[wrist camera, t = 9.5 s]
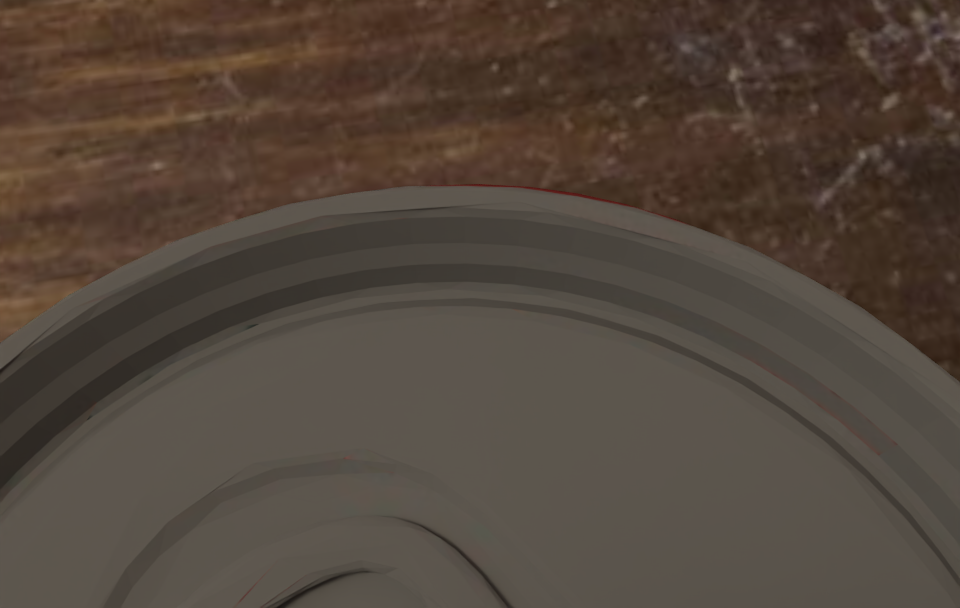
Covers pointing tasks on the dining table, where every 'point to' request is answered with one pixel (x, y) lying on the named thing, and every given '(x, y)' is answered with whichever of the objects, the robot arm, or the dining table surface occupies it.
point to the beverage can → (471, 421)
